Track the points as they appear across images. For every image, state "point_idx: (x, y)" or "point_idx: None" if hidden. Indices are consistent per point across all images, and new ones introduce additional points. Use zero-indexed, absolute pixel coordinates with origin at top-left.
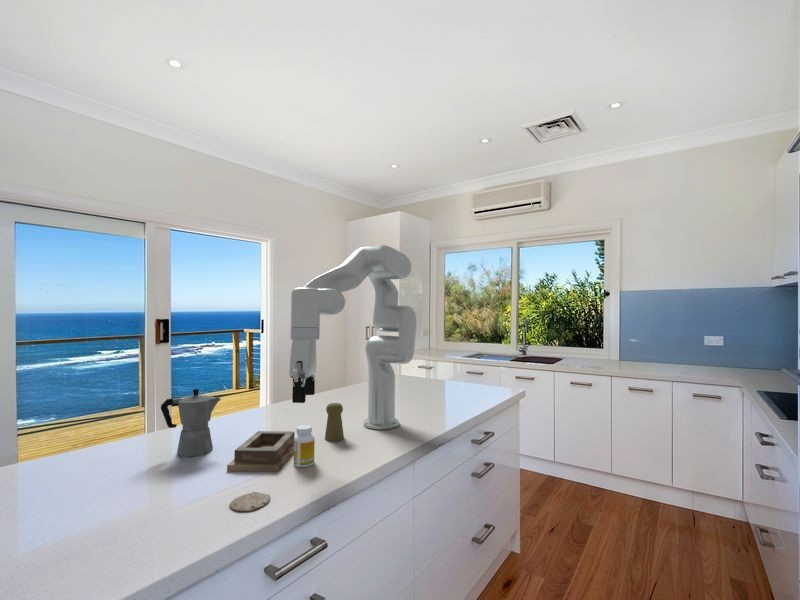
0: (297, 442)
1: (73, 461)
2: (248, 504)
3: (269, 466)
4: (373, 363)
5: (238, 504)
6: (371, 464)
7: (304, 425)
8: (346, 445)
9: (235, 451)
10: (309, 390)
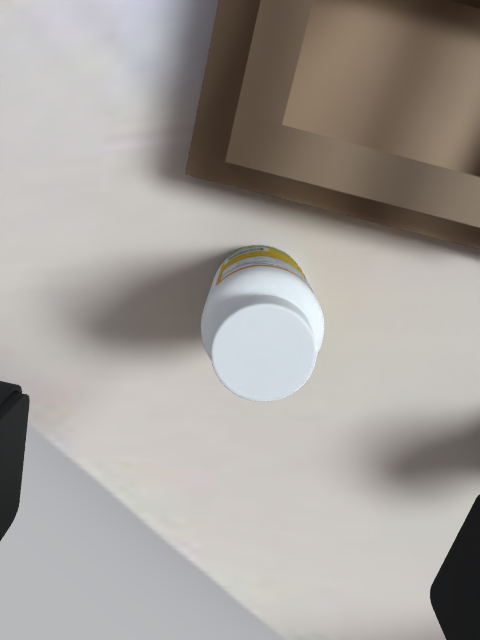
0: (214, 289)
1: None
2: None
3: (195, 129)
4: None
5: None
6: (196, 530)
7: (304, 355)
8: (435, 470)
9: None
10: (476, 605)
